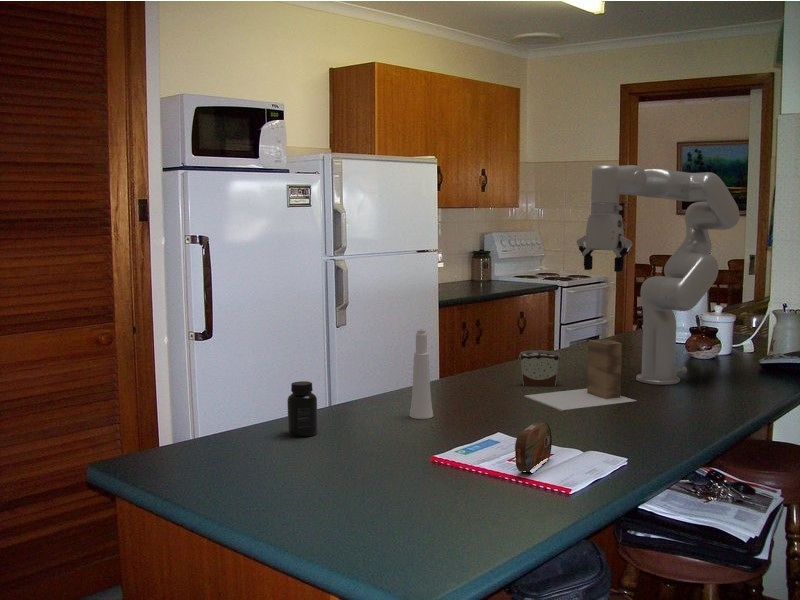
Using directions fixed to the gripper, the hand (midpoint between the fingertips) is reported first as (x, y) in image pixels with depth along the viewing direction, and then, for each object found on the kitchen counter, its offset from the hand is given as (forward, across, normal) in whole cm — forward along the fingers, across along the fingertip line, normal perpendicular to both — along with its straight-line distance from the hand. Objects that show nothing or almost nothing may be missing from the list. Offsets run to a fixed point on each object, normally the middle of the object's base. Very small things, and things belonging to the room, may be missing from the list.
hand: (603, 270), depth 231 cm
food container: (+35, +16, +8) cm, 39 cm away
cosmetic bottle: (+35, +16, +58) cm, 69 cm away
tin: (+35, -28, +71) cm, 84 cm away
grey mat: (+34, -3, +15) cm, 38 cm away
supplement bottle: (+35, +24, +89) cm, 99 cm away
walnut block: (+34, -6, +7) cm, 35 cm away
